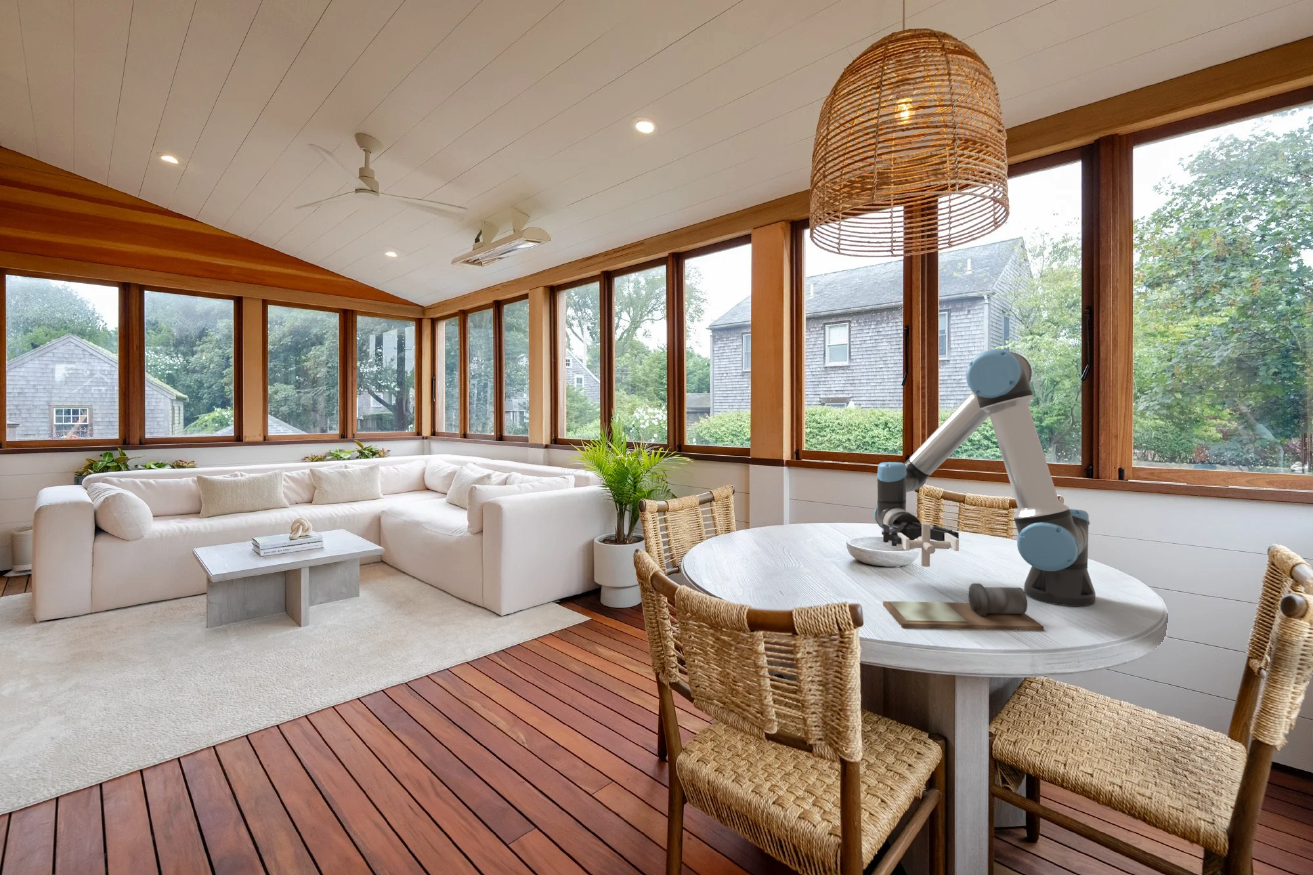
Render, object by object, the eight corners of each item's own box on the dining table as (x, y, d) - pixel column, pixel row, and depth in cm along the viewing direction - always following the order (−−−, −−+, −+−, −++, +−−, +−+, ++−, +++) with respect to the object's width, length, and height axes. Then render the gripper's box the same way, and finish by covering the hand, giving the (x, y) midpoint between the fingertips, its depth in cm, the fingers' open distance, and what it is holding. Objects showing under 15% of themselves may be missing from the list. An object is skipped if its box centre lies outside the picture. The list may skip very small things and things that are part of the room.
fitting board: (1009, 607, 144) (1010, 576, 144) (1043, 630, 129) (1044, 595, 129) (883, 605, 147) (883, 574, 147) (902, 627, 132) (902, 593, 132)
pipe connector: (954, 572, 133) (955, 528, 133) (907, 570, 135) (907, 527, 135) (942, 561, 143) (943, 520, 143) (899, 559, 145) (899, 519, 145)
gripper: (946, 539, 156) (984, 561, 134) (858, 538, 158) (880, 560, 136) (946, 511, 155) (984, 528, 133) (858, 511, 158) (881, 528, 136)
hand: (932, 544), depth 135 cm, fingers closed on pipe connector, 10 cm apart
